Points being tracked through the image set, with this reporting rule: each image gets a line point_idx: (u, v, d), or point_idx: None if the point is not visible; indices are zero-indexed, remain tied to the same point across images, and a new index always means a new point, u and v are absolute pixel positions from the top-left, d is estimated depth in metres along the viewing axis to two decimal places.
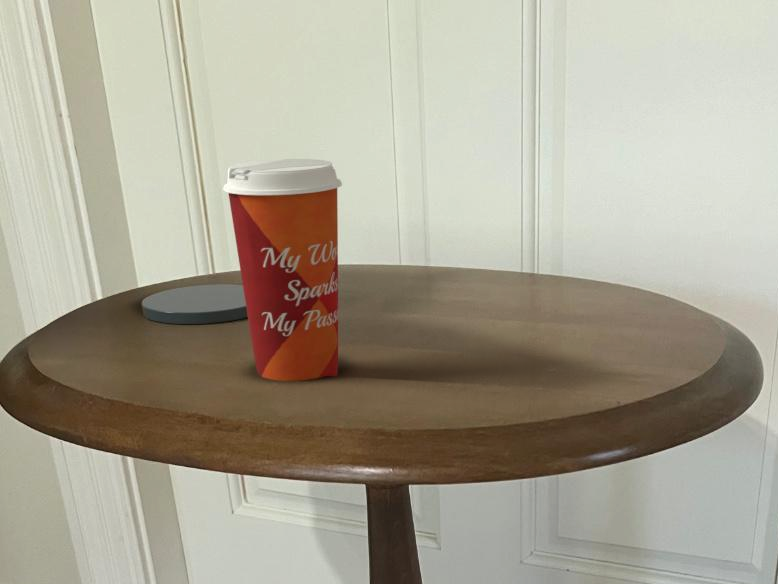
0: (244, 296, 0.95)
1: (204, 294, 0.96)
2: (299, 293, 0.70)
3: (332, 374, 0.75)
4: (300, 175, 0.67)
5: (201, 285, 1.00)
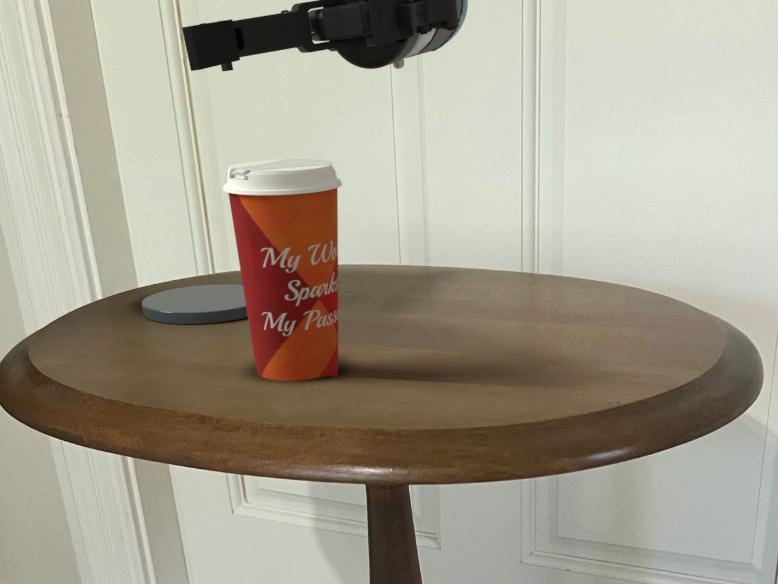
0: (244, 296, 0.95)
1: (204, 294, 0.96)
2: (299, 293, 0.70)
3: (332, 374, 0.75)
4: (300, 175, 0.67)
5: (201, 285, 1.00)
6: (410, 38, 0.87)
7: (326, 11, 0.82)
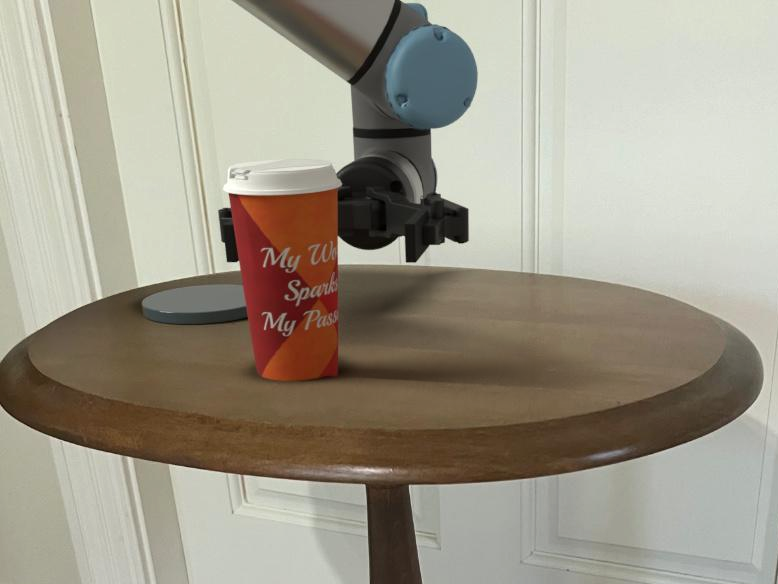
0: (244, 296, 0.95)
1: (204, 294, 0.96)
2: (299, 293, 0.70)
3: (332, 374, 0.75)
4: (300, 175, 0.67)
5: (201, 285, 1.00)
6: None
7: (338, 205, 0.90)
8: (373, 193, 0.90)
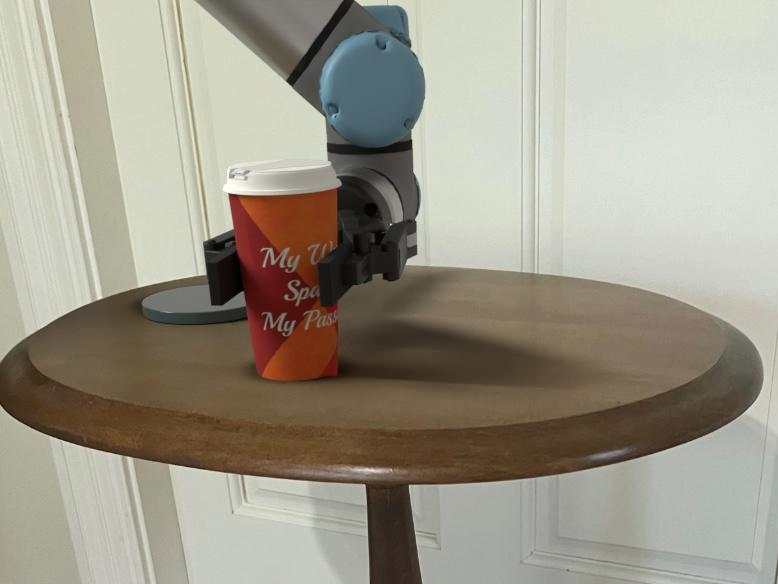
0: None
1: (204, 294, 0.96)
2: (299, 293, 0.70)
3: (332, 374, 0.75)
4: (300, 175, 0.67)
5: (201, 285, 1.00)
6: None
7: None
8: (338, 218, 0.81)
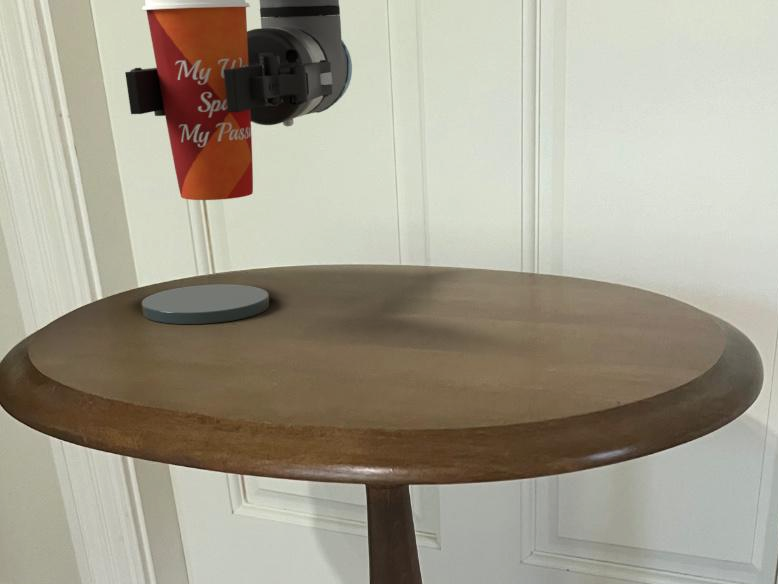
0: (244, 296, 0.95)
1: (204, 294, 0.96)
2: (211, 105, 0.78)
3: (246, 188, 0.82)
4: None
5: (201, 285, 1.00)
6: None
7: None
8: (259, 58, 0.88)
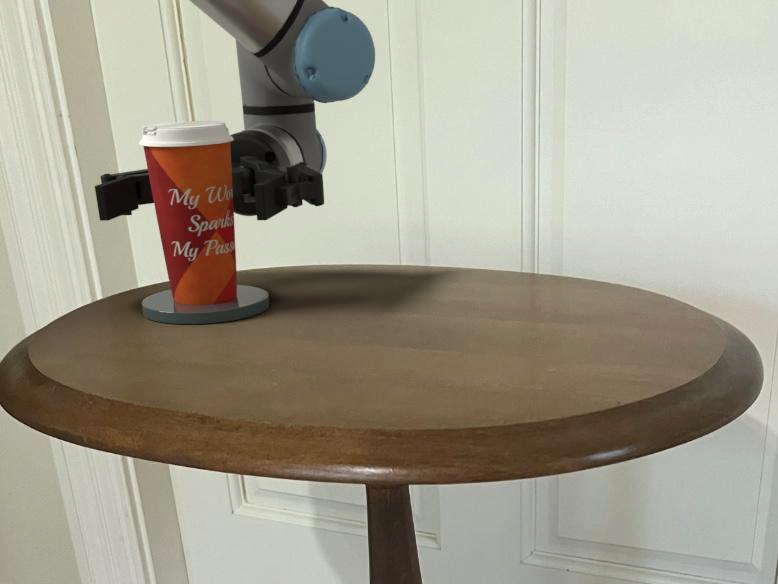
0: (244, 296, 0.95)
1: None
2: (200, 226, 0.89)
3: (231, 293, 0.94)
4: (197, 131, 0.86)
5: None
6: None
7: None
8: (245, 162, 0.99)
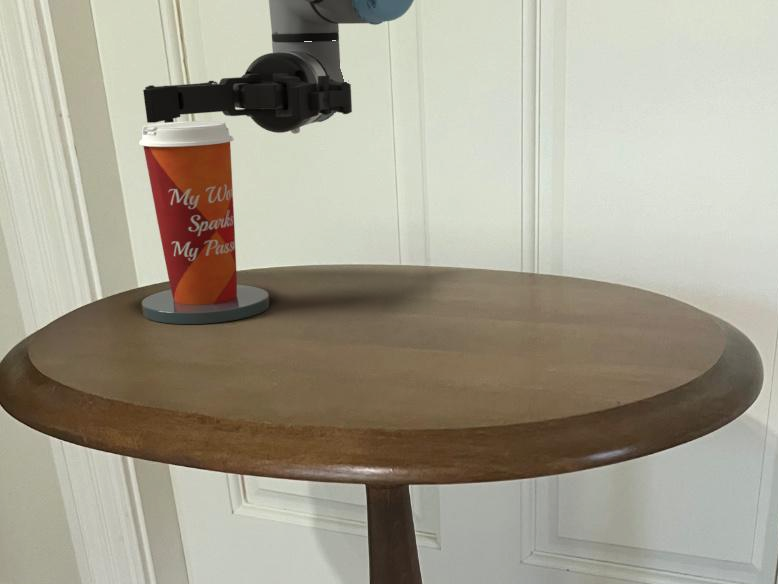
0: (244, 296, 0.95)
1: None
2: (200, 226, 0.89)
3: (231, 293, 0.94)
4: (197, 131, 0.86)
5: None
6: None
7: (247, 87, 1.07)
8: (277, 78, 1.07)
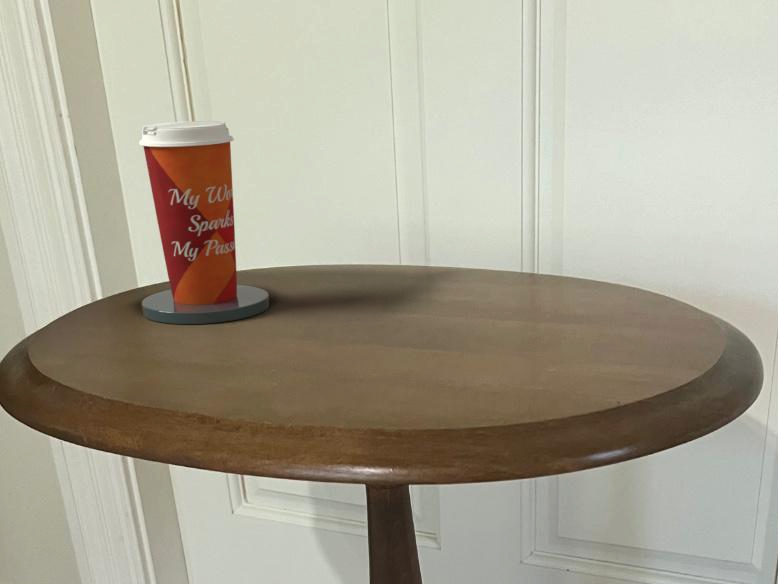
0: (244, 296, 0.95)
1: None
2: (200, 226, 0.89)
3: (231, 293, 0.94)
4: (197, 131, 0.86)
5: None
6: None
7: None
8: None
